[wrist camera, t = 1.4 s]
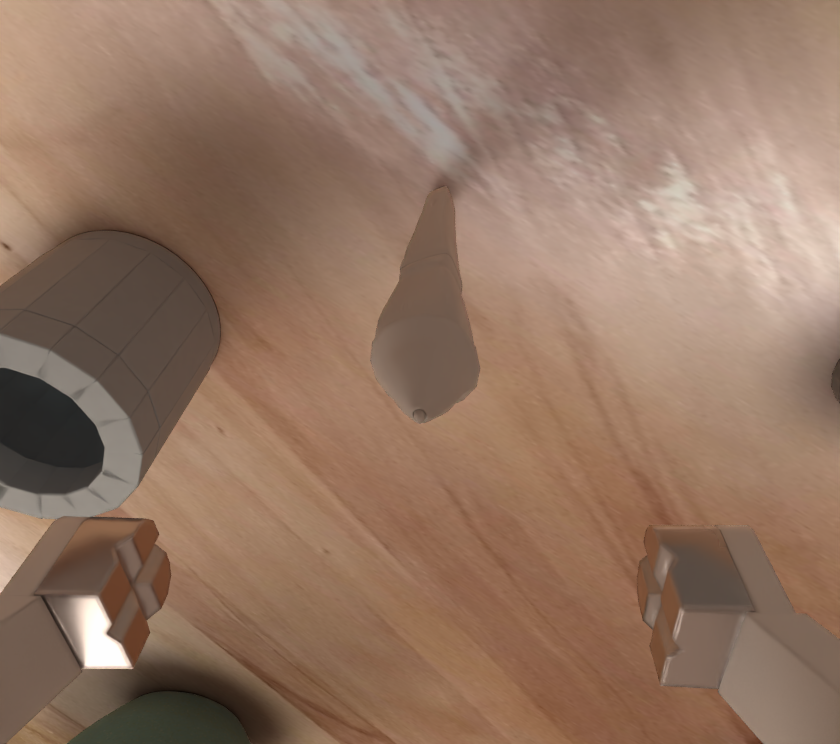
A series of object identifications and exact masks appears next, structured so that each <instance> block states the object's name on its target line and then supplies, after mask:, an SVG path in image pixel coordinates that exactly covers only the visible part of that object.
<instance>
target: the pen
mask: <svg viewBox="0 0 840 744" xmlns="http://www.w3.org/2000/svg"><path fill="white" fill-rule="evenodd" d="M461 292H462V280H461V276H460V270H459V263H458V255H457V245H456V230H455V208H454V204H453V200H452V198H451V195H450V192H449V190H448V188H447V187H446V186H444V187H441V188H438V189H435V190H433V191H431V192H430V193H429V194H428V196H427V198H426V201H425V204H424V207H423V211H422V213H421V216H420V218H419V220H418V223H417V226H416V228H415V231H414V233H413V236H412V238H411V240H410V242H409V244H408V246H407V249H406V252H405V256H404V259H403V261H402V263H401V266H400V277H399V282H398V284H397V286H396V288H395V289H394V291H393V293H392V294H391V296H390V298H389V300H388V302H387V303H386V305H385V307H384V309H383V311H382V313H381V315H380V317H379V320H378V324H377V328H376V335H375V339H374V340H373V342H372V351H371V360H370V361H371V364H372V367H373V370H374V374H375V377H376V380H377V381H378V382H379V384H380V385H381V386H382V388H383V389H384V390H385V392H386V393H387V394H388V396H390V397H391V398H392V399H393V400H394V401H395V403H396V404H397V405H398V407H399V408H400V409H401V410H402V411H403V413H405V414H406V415H407V416H408V417H409V418H411V419H412V420H414V421H415V422H417V423H419V424H421V423H425V422H428V421H430V420H432V419H434V418H437V417H439V416H441V415H443V414H445V413H446V412H448V411H449V410H450V409H451V408H452V406H453V405H454V404H456V403H458V402H460V401H463V400H464V399H465V398H466V397H467V396H468V395H469V394H470V393H471V392H472V391H473V390H474V389H475V388H476V386H477V381H478V377H479V372H480V365H479V360H478V355H477V351H476V347H475V346H474V342H473V336H472V331H471V327H470V323H469V319H468V315H467V311H466V307H465V304H464V301H463V298H462V294H461Z"/></svg>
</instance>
